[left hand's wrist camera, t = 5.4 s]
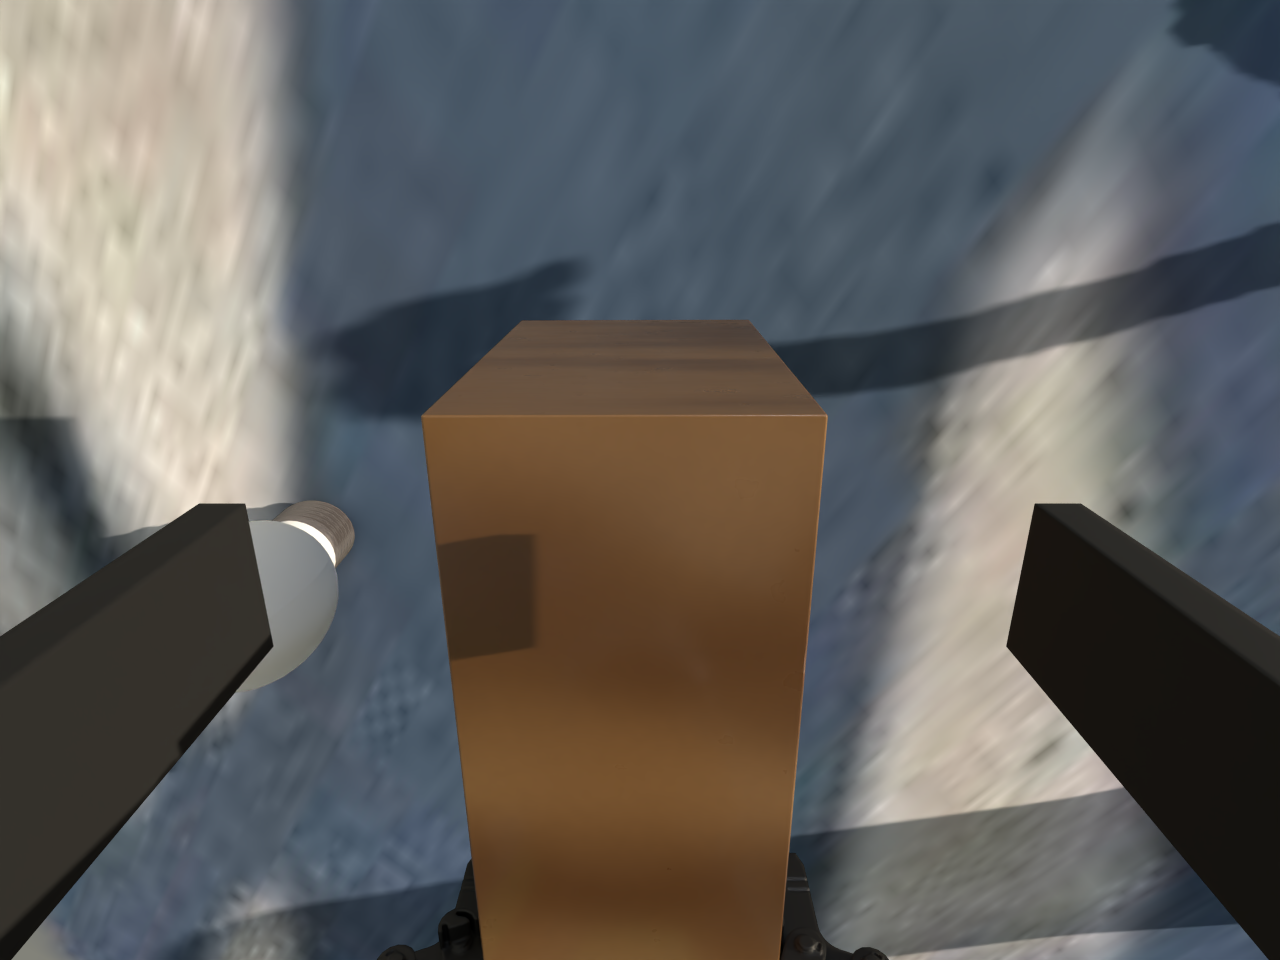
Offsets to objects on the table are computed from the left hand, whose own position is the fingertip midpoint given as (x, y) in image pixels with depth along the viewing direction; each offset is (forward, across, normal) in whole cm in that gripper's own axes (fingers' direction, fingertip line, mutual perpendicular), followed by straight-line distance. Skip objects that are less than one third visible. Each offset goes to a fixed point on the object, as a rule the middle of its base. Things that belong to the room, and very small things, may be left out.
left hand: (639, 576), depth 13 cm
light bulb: (+24, -17, -10) cm, 31 cm away
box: (+15, 0, -9) cm, 17 cm away
